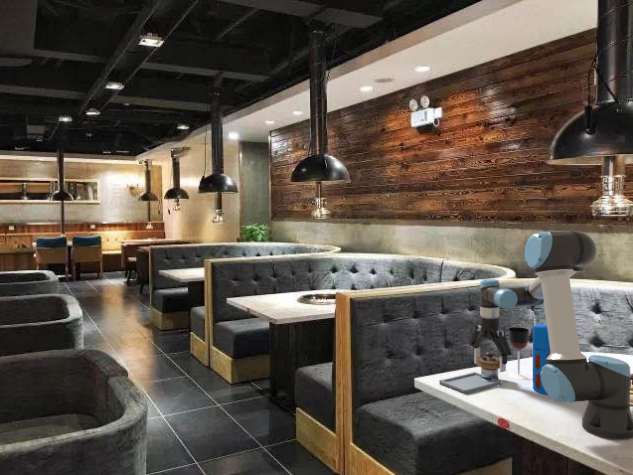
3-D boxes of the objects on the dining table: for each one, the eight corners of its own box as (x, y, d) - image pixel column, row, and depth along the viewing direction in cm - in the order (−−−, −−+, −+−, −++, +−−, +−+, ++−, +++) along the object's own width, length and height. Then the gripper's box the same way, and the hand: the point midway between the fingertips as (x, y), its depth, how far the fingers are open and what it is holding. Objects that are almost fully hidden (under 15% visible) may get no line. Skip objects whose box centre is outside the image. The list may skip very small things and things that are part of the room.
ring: (503, 369, 212) (503, 363, 212) (477, 368, 215) (477, 362, 214) (501, 362, 221) (501, 356, 221) (477, 361, 224) (477, 355, 224)
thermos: (566, 396, 198) (566, 330, 196) (535, 394, 200) (536, 330, 198) (558, 386, 208) (559, 324, 207) (530, 385, 211) (530, 323, 209)
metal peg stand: (499, 382, 214) (499, 355, 213) (481, 381, 216) (481, 354, 215) (498, 377, 221) (498, 351, 220) (480, 376, 223) (480, 350, 222)
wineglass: (509, 379, 219) (509, 331, 218) (507, 372, 227) (507, 326, 226) (530, 380, 217) (530, 332, 216) (527, 373, 225) (527, 327, 224)
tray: (500, 384, 212) (500, 381, 212) (464, 394, 202) (464, 390, 202) (474, 375, 224) (474, 371, 224) (439, 384, 214) (439, 380, 214)
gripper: (520, 320, 208) (520, 373, 209) (473, 310, 230) (473, 358, 231) (507, 323, 204) (507, 376, 205) (460, 312, 226) (461, 361, 227)
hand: (489, 367), depth 218 cm, fingers open, 13 cm apart
